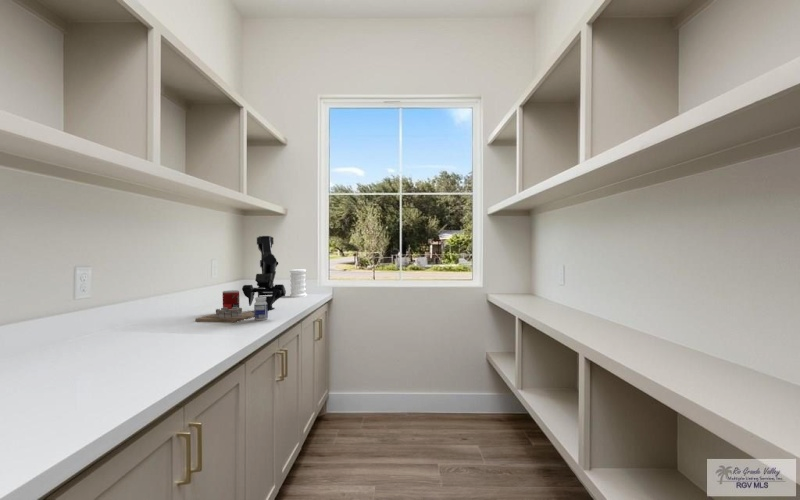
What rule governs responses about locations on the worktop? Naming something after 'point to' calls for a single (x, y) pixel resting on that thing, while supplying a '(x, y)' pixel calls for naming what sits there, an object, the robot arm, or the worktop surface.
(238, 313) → the nut base
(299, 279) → the decorative container
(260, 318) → the pill bottle
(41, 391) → the worktop surface
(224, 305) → the canned food
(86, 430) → the worktop surface
